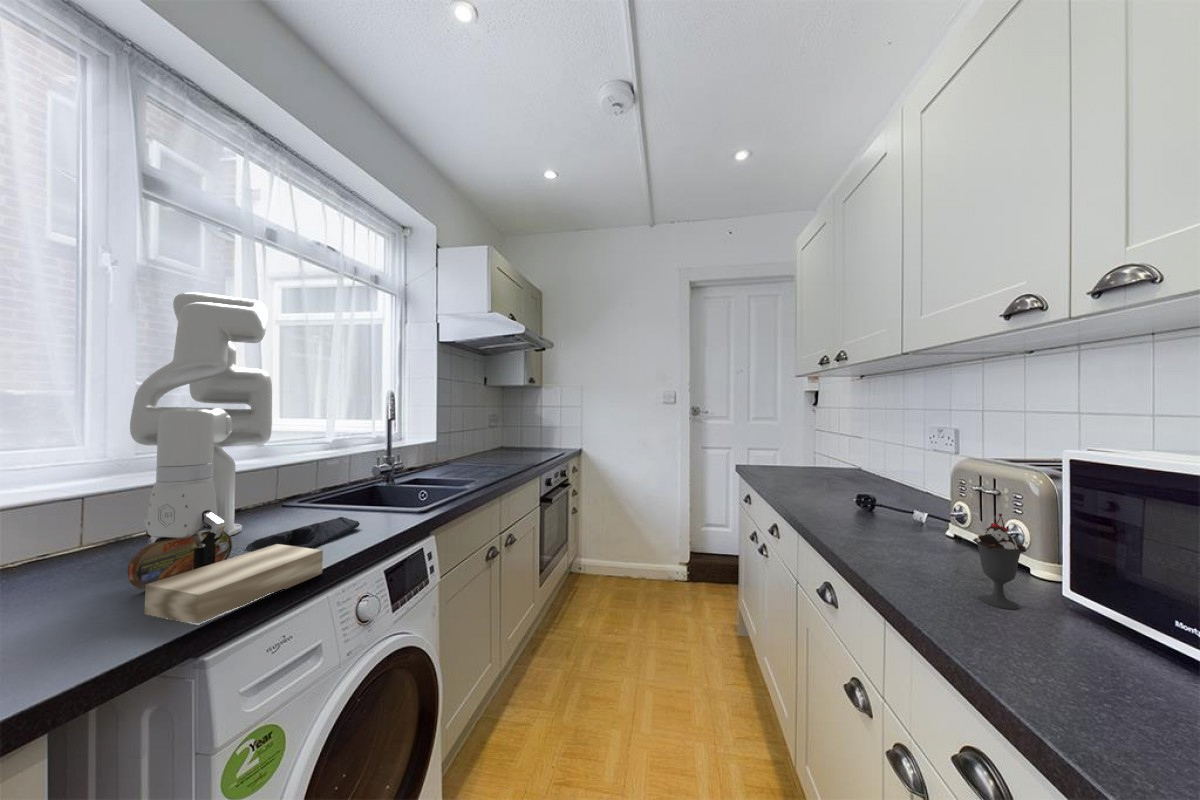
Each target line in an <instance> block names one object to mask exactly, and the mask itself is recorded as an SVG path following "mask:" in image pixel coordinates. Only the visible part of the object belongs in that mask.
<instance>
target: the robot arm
mask: <svg viewBox="0 0 1200 800" xmlns="http://www.w3.org/2000/svg"><path fill="white" fill-rule="evenodd" d="M172 305H173V311H174V315H175V317H176V320H177V327H176V334H175V343H174V350H173V358H172V361H170V362H169V363H167V364H165V365H163V366H162V367H160V368H159V369H157V370H156V371H153V373H151V374H150V375H149V376H148V377H147V378H146V379H144V381H143V382H142V383H141V384H140V386H139V387H138V389H137V391H136V392H135V395H134V398H133V405H132V410H131V414H130V420H129V430H130V431H129V432H130V433H129V434H130V436H131V438H132V439H133V441H135V443H138V444H140V445H142V446H156V470H155V471H156V474H155V482H154V483H153V487H152V490H151V493H150V497H149V498H150V499H149V503H148V511H147V516H146V517H145V518H144V519H143V524H144V527H145V530H146V531H145V533H146V536H147V537H148V538H149V539H148V545H150V544H152V543H155V542H159V541H163V540H167V539H171V538H176V539H186V538H189V537H192V539H193V540H194V542H195V544H196V545H197V547H198V548H194V567H193V568H194V569H198V568H201V567H204V566H207V565H210V564H214V563H215V550H216V544H217V543H218V542H219V538H220V537H221V536H222V532H223V531H225V532H226V533H227V534H228V535H229V536H233V535H236V534H238V533H240V532H242V530H243V525H242V524H240V523H235V508H236V507H235V500H236V497H235V496H236V495H235V494H236V463H235V460H234V459H233V457H232V456H231V455H230V454H229V453H227V452H226V451H225V450H224V449H223V448H225V447H242V446H258V445H259V446H260V445H264V444H266V443H267V442H268V441H269V440H270V439H271V435H272V432H273V431H272V430H273V429H272V427H273V426H272V424H273V383H272V378H271V376H270V374H269V373H268V372H267V371H265V370H264V369H260V368H254V367H238V366H237V364H236V362H237V349H236V347H235V345H234V343H245V344H258V343H260V342H262V340H263V339H264V337H265V335H266V331H267V326H268V321H269V314H268V309H267V307H266V305H265V304H264V303H263V301H260V300H256V299H250V298H243V297H242V298H241V297H236V296H235V297H233V296H228V295H227V296H226V295H220V294H212V293H204V292H203V293H202V292H183V293H179V294H177V295H175V296H174V299H173V304H172ZM232 342H233V343H232ZM185 385H189V394H190V396H191V399H193V400H194V401H195V402H198V403H202V404H218V405H219V404H225V405H226V404H227V405H229V404H230V405H231V404H232V405H234V404H235V405H236V404H237V405H247V406H249V407H250V409H249V408H217V407H191V406H190V407H189V406H187V407H185V406H184V407H183V406H182V407H181V406H180V407H179V406H174V407H172V406H170V407H169V406H161V407H160V406H158V407H157V404H158V402H159V401H160V399H161V398H162V397H163V396H165V395H166V394H167V393H169V392H170V391H172V390H175V389H176V388H177V389H178V388H180V387H183V386H185ZM205 534H206V537H205V538H204V539H203V538H202V537H201V536H202V535H205Z"/></svg>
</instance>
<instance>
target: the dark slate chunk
mask: <svg viewBox="0 0 1200 800" xmlns="http://www.w3.org/2000/svg"><path fill="white" fill-rule="evenodd" d="M360 524H361V523H360V521H358V520H354V519H349V518H348V517H344V516H340V517H336V518H332V519H329V520H325V521H324V520H323V521H321V522H315V523H312V524H309V525H304V526H301V527H298V528H294V529H290V530H286V531H283V532H278V533H275V534H271V535H268V536H265V537H261V538H258V539H255V540H254V541H252V542H249V544H248V545H247V546H246V548H245V549H244V550H243V551H244V552H248V553H249V552H252V551H256V550H259V549H262V548H265V547H269V546H272V545H275V544H281V545H288V546H296V547H303V548H311V549H315V548H316V547H319V546H321V545H324V544H325V543H327V542H329V541H332V540H334V539H338V538H339V537H341V536H342V537H343V536H345V535H347V534H348V533H350V532H352V531H353V530H355V529H356V528H358V527H360Z"/></svg>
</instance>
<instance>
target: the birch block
mask: <svg viewBox="0 0 1200 800" xmlns="http://www.w3.org/2000/svg"><path fill="white" fill-rule="evenodd" d="M323 552H324V550H323V549H317V548H303V547H296V546H288V545H281V544H275V545H272V546H269V547H265V548H262V549H259V550H256V551H252V552H249V551H248V552H247V553H243V554H241V555H240V554H239V555H236V556H232V557H230V558H228V559H227V560H223V561H220V562H217V563H214V564H210V565H207V566H204V567H201V568H198V569H194V570H191V571H188V572H185V573H181V574H178V575H175V576H172V577H169V578H165V579H162V580H159V581H156V582H152V583H149V584H146V585H145V589H144V592H145V594H144V615H145V616H150V615H151V616H150V617H154V616H157V617H156V618H159V617H162V618H161V619H163V618H168V619H172V620H178V621H183V622H192V623H201V622H203V621H206V620H208V619H211V618H213V617H215V616H217V615H219V614H222V613H224V612H226V611H229V610H232V609H234V608H237V607H240V606H243V605H245V604H247V603H250V602H251V601H254V600H255V599H258V598H260V597H263V596H265V595H267V594H269V593H272V592H276V591H279V590H282V589H285V590H287V589H290V588H292V587H294V586H296V585H298V584H301V583H303V582H305V581H308V580H310V579H311V580H312V578H315V577H317V576H319V575H322V574H323V558H324V557H323V556H324V555H323V554H324V553H323ZM282 591H283V590H282ZM168 619H167V620H168ZM172 620H171V621H172Z"/></svg>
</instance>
